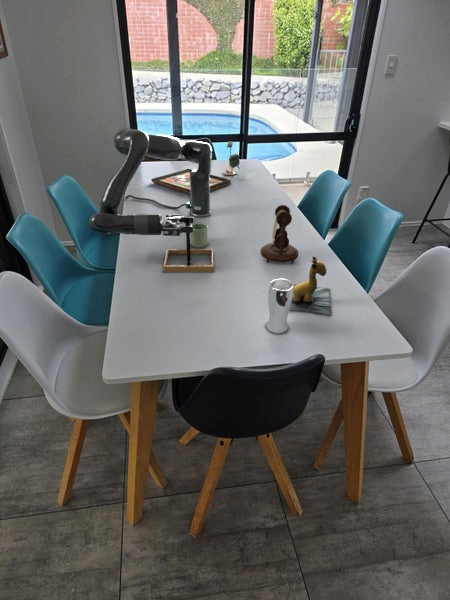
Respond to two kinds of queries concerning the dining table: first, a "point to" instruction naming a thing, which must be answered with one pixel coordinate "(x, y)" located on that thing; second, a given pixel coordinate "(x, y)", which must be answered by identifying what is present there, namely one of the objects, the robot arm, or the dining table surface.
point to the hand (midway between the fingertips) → (193, 224)
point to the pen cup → (199, 235)
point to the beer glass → (279, 304)
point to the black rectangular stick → (188, 242)
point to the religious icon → (187, 181)
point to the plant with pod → (232, 161)
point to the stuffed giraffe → (312, 292)
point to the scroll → (280, 239)
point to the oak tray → (184, 267)
